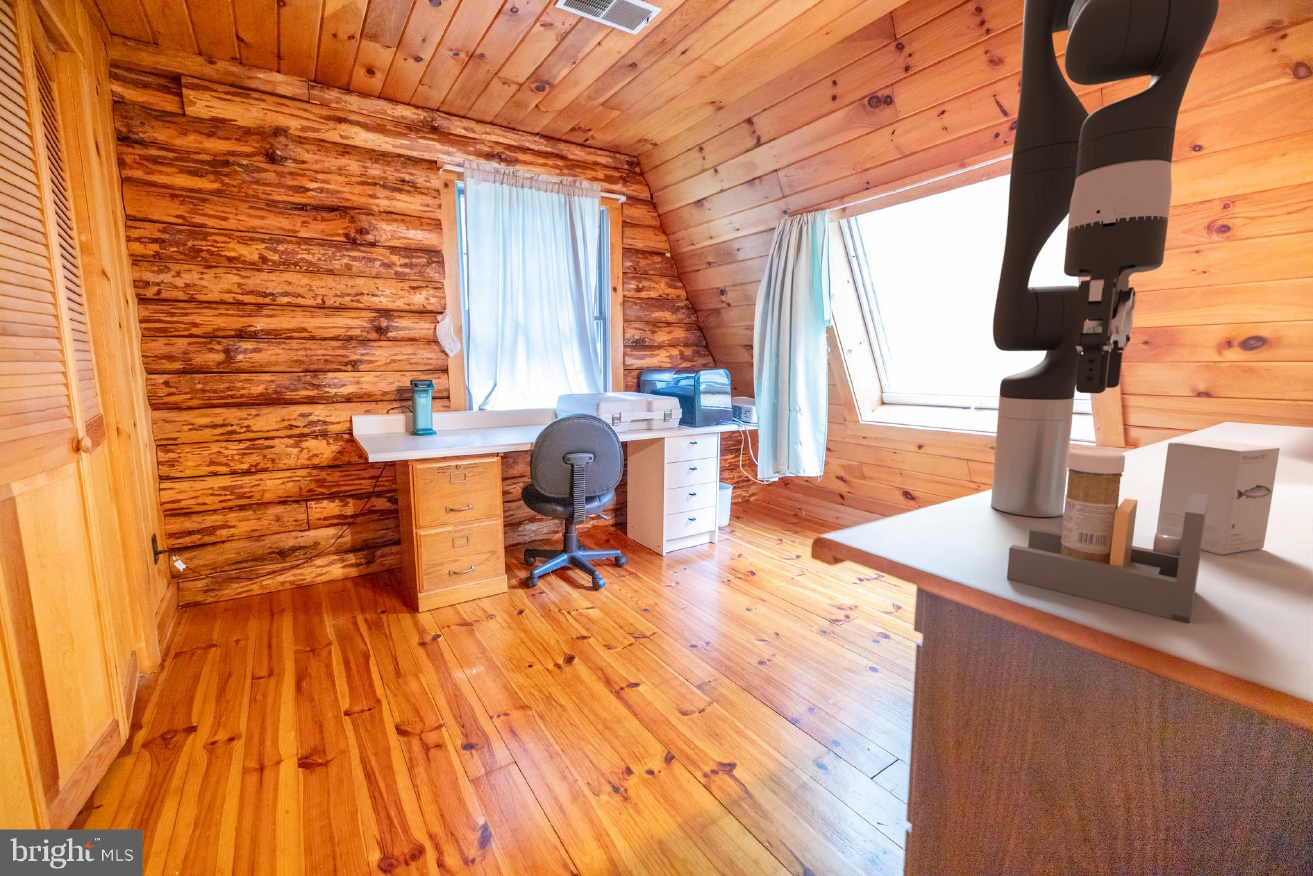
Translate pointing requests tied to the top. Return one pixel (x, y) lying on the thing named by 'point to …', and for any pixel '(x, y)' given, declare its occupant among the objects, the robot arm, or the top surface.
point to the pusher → (1126, 538)
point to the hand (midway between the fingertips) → (1098, 390)
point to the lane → (1121, 569)
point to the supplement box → (1220, 492)
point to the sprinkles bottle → (1091, 503)
